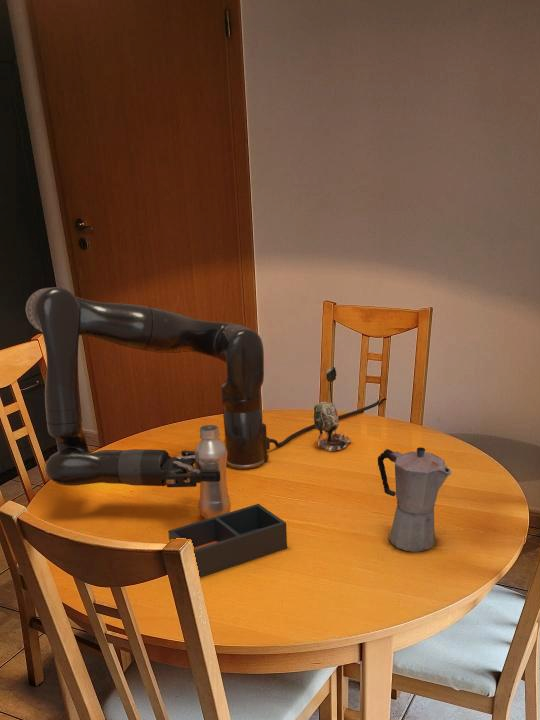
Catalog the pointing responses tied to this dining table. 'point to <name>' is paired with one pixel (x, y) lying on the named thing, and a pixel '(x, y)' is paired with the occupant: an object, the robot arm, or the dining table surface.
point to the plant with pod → (329, 420)
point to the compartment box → (233, 538)
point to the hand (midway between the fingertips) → (223, 469)
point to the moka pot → (414, 496)
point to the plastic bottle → (212, 458)
